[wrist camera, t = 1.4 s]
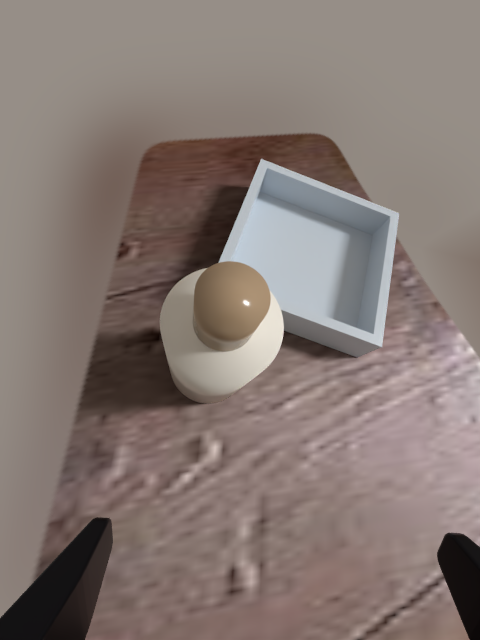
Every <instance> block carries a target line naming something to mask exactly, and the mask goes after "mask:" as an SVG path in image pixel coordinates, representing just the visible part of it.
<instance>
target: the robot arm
mask: <svg viewBox="0 0 480 640" xmlns="http://www.w3.org/2000/svg"><path fill="white" fill-rule="evenodd" d="M112 544H113V536H112V523H111V519H110V518H98V517H97V518H94V519H93V520H92V521H91V522H90V523H89V524H88V525H87V526H86V527H85V528H84V529H83V530H82V531H81V532H80V533H79V534H78V535H77V537H76V538H75V539H74V540H73V541H72V542H71V543H70V544H69V545H68V546H67V547H66V548H65V549H64V550H63V552H62V553H61V554H60V555H59V556H58V557H57V558H56V559H55V560H54V561H53V562H52V563H51V564H50V565H49V566H48V568H47V569H46V570H45V571H44V572H43V573H42V574H41V575H40V576H39V577H38V578H37V579H36V580H35V581H34V583H33V584H32V585H31V586H30V587H29V588H28V589H27V590H26V591H25V592H24V593H23V594H22V595H21V596H20V598H19V599H18V600H17V601H16V602H15V603H14V604H13V605H12V606H11V607H10V608H9V609H8V610H7V611H6V613H5V614H4V615H3V616H2V617H1V618H0V640H85V638H86V635H87V632H88V629H89V626H90V623H91V619H92V616H93V613H94V609H95V606H96V602H97V599H98V595H99V592H100V588H101V585H102V581H103V577H104V574H105V570H106V567H107V563H108V560H109V556H110V553H111V549H112ZM437 558H438V562H439V565H440V568H441V570H442V573H443V575H444V578H445V580H446V583H447V585H448V588H449V590H450V593H451V595H452V598H453V600H454V603H455V605H456V607H457V610H458V612H459V615H460V617H461V620H462V622H463V625H464V627H465V630H466V632H467V634H468V637H469V639H470V640H480V547H479V546H478V545H477V544H475V543H474V542H473V541H472V540H471V539H469V538H468V537H467V536H465V535H464V534H461V533H447V534H446V535H445V536H444V538H443V541H442V543H441V545H440V547H439V550H438V552H437Z"/></svg>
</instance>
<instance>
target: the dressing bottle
mask: <svg viewBox="0 0 480 640" xmlns="http://www.w3.org/2000/svg"><path fill="white" fill-rule="evenodd" d="M160 332H161V337H162V341H163V345H164V349H165V353H166V357H167V361H168V365H169V369H170V373H171V376H172V379H173V382H174V384H175V386H176V387H177V388H178V390H179V391H180V392H181V393H182V394H183V395H184V396H186V397H187V398H189V399H191V400H193V401H195V402H199V403H205V404H211V403H217V402H220V401H223V400H225V399H227V398H229V397H230V396H231V395H233V394H234V393H235V392H237V391H238V390H239V389H240V388H242V387H243V386H244V385H246V384H247V383H248V382H249V381H251V380H252V379H253V378H255V377H256V376H257V375H258V374H260V373H261V372H262V371H263V370H265V369H266V368H267V367H268V366H269V365H270V364H271V363H272V361H273V360H274V358H275V357H276V355H277V353H278V351H279V349H280V347H281V344H282V340H283V333H284V323H283V316H282V312H281V309H280V306H279V304H278V302H277V300H276V298H275V297H274V295H273V294H272V292H271V291H270V290H269V287H268V285H267V283H266V281H265V280H264V278H263V277H262V276H261V274H259V273H258V272H257V271H256V270H255V269H253V268H252V267H250V266H248V265H246V264H243V263H240V262H233V261H226V262H220V263H217V264H214V265H212V266H210V267H209V268H205V269H201V270H198V271H195V272H193V273H191V274H189V275H187V276H186V277H184V278H183V279H182V280H180V281H179V282H178V283H177V284H176V285H175V286H174V287H173V288H172V289H171V291H170V292H169V293H168V295H167V297H166V299H165V301H164V304H163V306H162V310H161V314H160Z"/></svg>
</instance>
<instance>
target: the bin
mask: <svg viewBox="0 0 480 640" xmlns="http://www.w3.org/2000/svg"><path fill="white" fill-rule="evenodd" d="M398 218H399V213H397V212H395V211H392V210H389V209H387V208H385V207H382V206H379V205H377V204H374V203H372V202H369V201H367V200H364V199H362V198H359V197H357V196H354V195H352V194H349V193H346V192H344V191H341V190H339V189H336V188H334V187H331V186H329V185H326V184H324V183H321V182H319V181H316V180H313V179H311V178H308V177H306V176H303V175H301V174H298V173H296V172H293V171H291V170H288V169H286V168H283V167H280V166H278V165H275V164H273V163H270V162H268V161H265V160H263V159H261V161H260V163H259V166H258V168H257V171H256V173H255V175H254V178H253V180H252V183H251V185H250V188H249V190H248V192H247V195H246V197H245V200H244V202H243V205H242V207H241V209H240V212H239V214H238V217H237V219H236V221H235V224H234V226H233V229H232V231H231V234H230V236H229V238H228V241H227V243H226V246H225V248H224V250H223V253H222V255H221V258H220V260H219V263H220V262H226V261H233V262H240V263H243V264H246V265H248V266H250V267H252V268H253V269H255V270H256V271H257V272H258V273H259V274H261V276H262V277H263V278H264V280H265V281H266V283H267V285H268V287H269V290H270V291H271V292H272V294H273V295H274V297H275V298H276V300H277V302H278V304H279V306H280V309H281V312H282V316H283V323H284V331H287V332H289V333H292V334H295V335H297V336H300V337H303V338H306V339H308V340H311V341H314V342H316V343H319V344H322V345H325V346H327V347H330V348H333V349H335V350H338V351H341V352H344V353H346V354H349V355H352V356H355V357H357V358H358V357H360V356H362V355H364V354H367V353H369V352H371V351H374V350H376V349H378V348H381V347H382V342H383V335H384V327H385V319H386V311H387V304H388V296H389V288H390V280H391V273H392V265H393V257H394V249H395V241H396V234H397V226H398Z"/></svg>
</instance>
